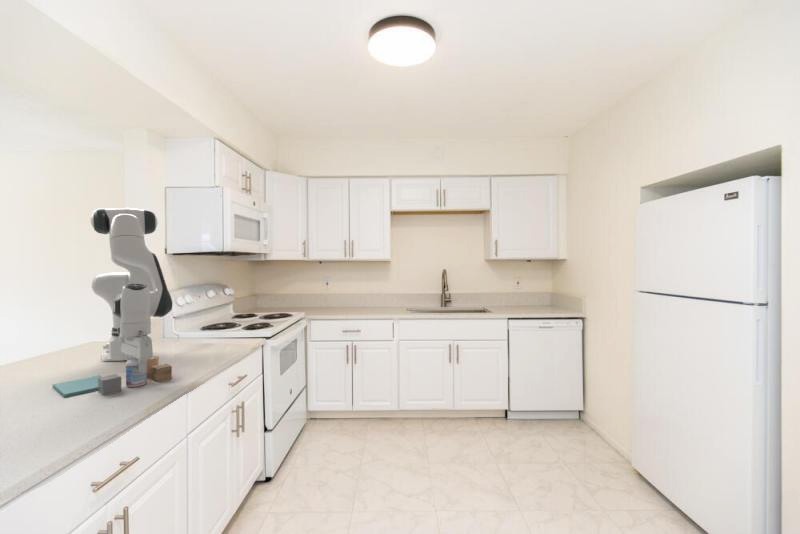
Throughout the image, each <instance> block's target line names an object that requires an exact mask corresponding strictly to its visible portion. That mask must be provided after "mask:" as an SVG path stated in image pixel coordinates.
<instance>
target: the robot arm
mask: <svg viewBox="0 0 800 534" xmlns="http://www.w3.org/2000/svg"><path fill="white" fill-rule="evenodd" d="M90 224H91V226H92V228H93V229H94V231H95V232H96V233H97V234H101V235H109V236H108V237H109V239H108V240H109V249H110V255H111V256H110V258H111V261H112V263H114V264H115V265H116V266H118V267H120V268H123V269H125V270H126V272H107V273H99V274H97V275H95V277H93V279H92V281H91V289H92V291H93V293H94V294H95V295H96V296H98V297H100V298H102V299H103V300H104V301H105V302H106V303H107V304H108V305H109V307H110V309H111V312H112V322H113V323H112V324H113V327H112V328H111V337H110V338H109V340H108V341H107V343H105V344H103V346H102V349H103V350H104V351H105V350H106V351H105V352H102V353H100V357H101V360H102V362H114V361H115V362H119V361H120V362H121V361H126V362H127V361H128V360H129V358H128V354H130V355H132V357H134V358H137V359H138V362H139V365H138V371H144V370H145V364H146V362H147V359H151V358H152V357H153V352H154V351H153V341H152V338H151V337H150V336H148V335H150V334H152V318H151V317H155V318H156V317H157V318H159V317H160V318H161V317H162V318H164V317H165V316H167V315H168V314H169V313H170V312H171V311H172V310H173V300H172V297H171V296H172V295H171V294H170V292H169V288H168V286H167V284H166V281H165V277H164V273H163V271H162V267H161V265H160V261H159V259H158V257H157V254H155V253H153V252H152V251H150V250H149V248H148V247H147V245H146V242H145V235H149V234H153V233H154V232H155V231H156V229H157V228H158V224H159V223H158V218H157V216H156V214H155V212H154V211H152V210H149V209H140V208H132V207H131V208H130V207H125V208H124V207H123V208H121V207H118V208H116V207H115V208H105V207H101V208H97V209H95V210H93V211H92V214H91V216H90ZM127 271H128V272H127Z"/></svg>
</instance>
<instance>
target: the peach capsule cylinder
mask: <svg viewBox="0 0 800 534" xmlns="http://www.w3.org/2000/svg"><path fill="white" fill-rule="evenodd" d="M159 360H160V358H159V356H152V358H151V359H147V379H151V366H156V365H160V364H159V363H160V361H159Z"/></svg>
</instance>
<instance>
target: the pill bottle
mask: <svg viewBox="0 0 800 534" xmlns="http://www.w3.org/2000/svg"><path fill="white" fill-rule="evenodd" d="M128 358H129V360H128V361H127V360H126V362H125V386H126V387H127V388H137V387H140V386H144V385H146V384H147V382H148V380H147V379H148V378H147V362H146V364H145V370H144V371H138V365H139V362H138V359H137V358H134V357H132V355H130V354H128Z"/></svg>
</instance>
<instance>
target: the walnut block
mask: <svg viewBox="0 0 800 534" xmlns="http://www.w3.org/2000/svg"><path fill="white" fill-rule="evenodd" d="M172 368H173V365H171V364H168V363H162V364H161V363H160V364H159V365H156V366H151V378H150V379H151V381H153V382H156V383H158V382H163V381H168V380H171V379H172V378H173V376H172V375H173V373H172V371H173V370H172Z"/></svg>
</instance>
